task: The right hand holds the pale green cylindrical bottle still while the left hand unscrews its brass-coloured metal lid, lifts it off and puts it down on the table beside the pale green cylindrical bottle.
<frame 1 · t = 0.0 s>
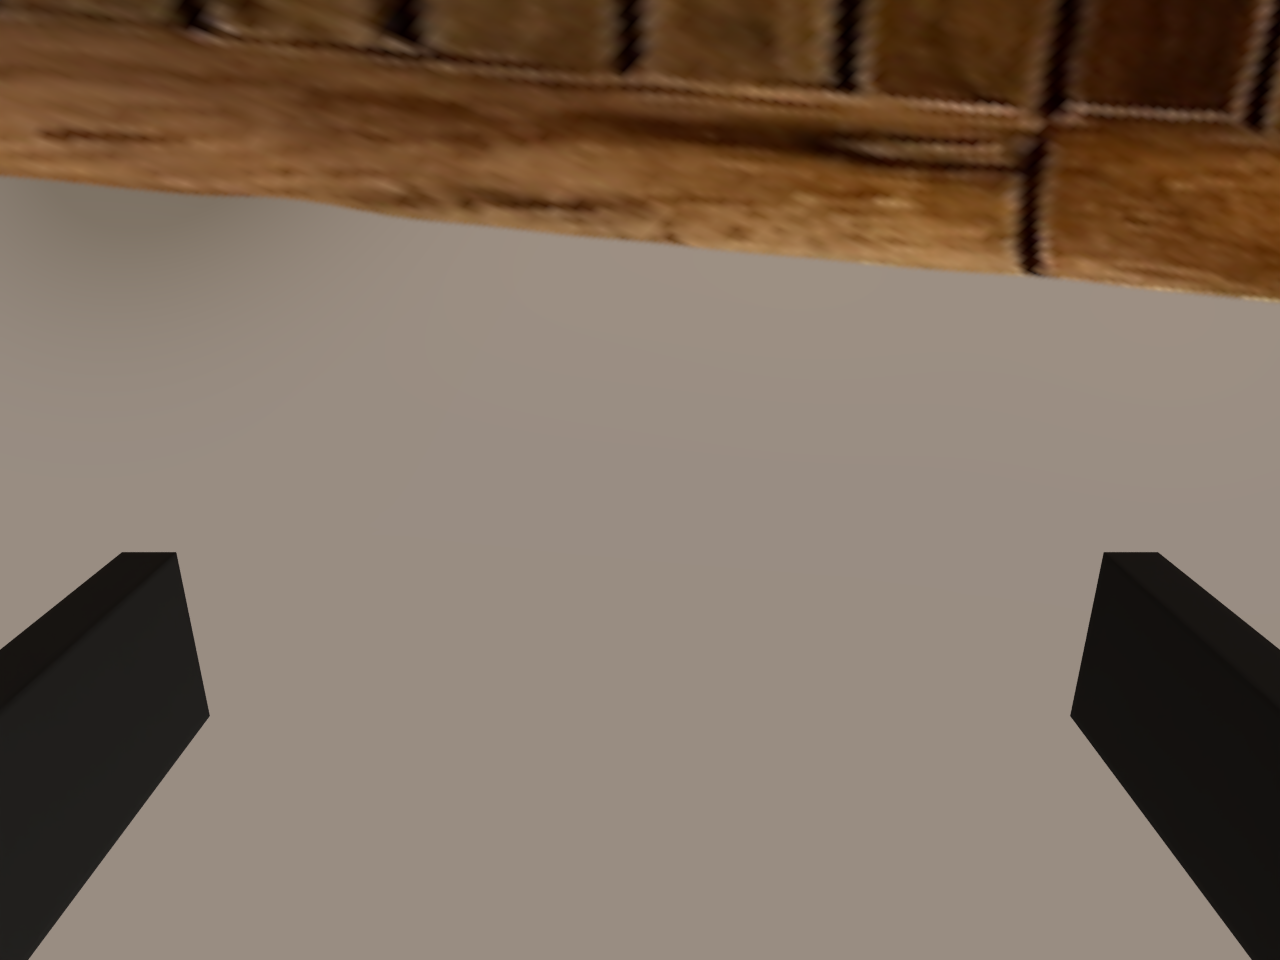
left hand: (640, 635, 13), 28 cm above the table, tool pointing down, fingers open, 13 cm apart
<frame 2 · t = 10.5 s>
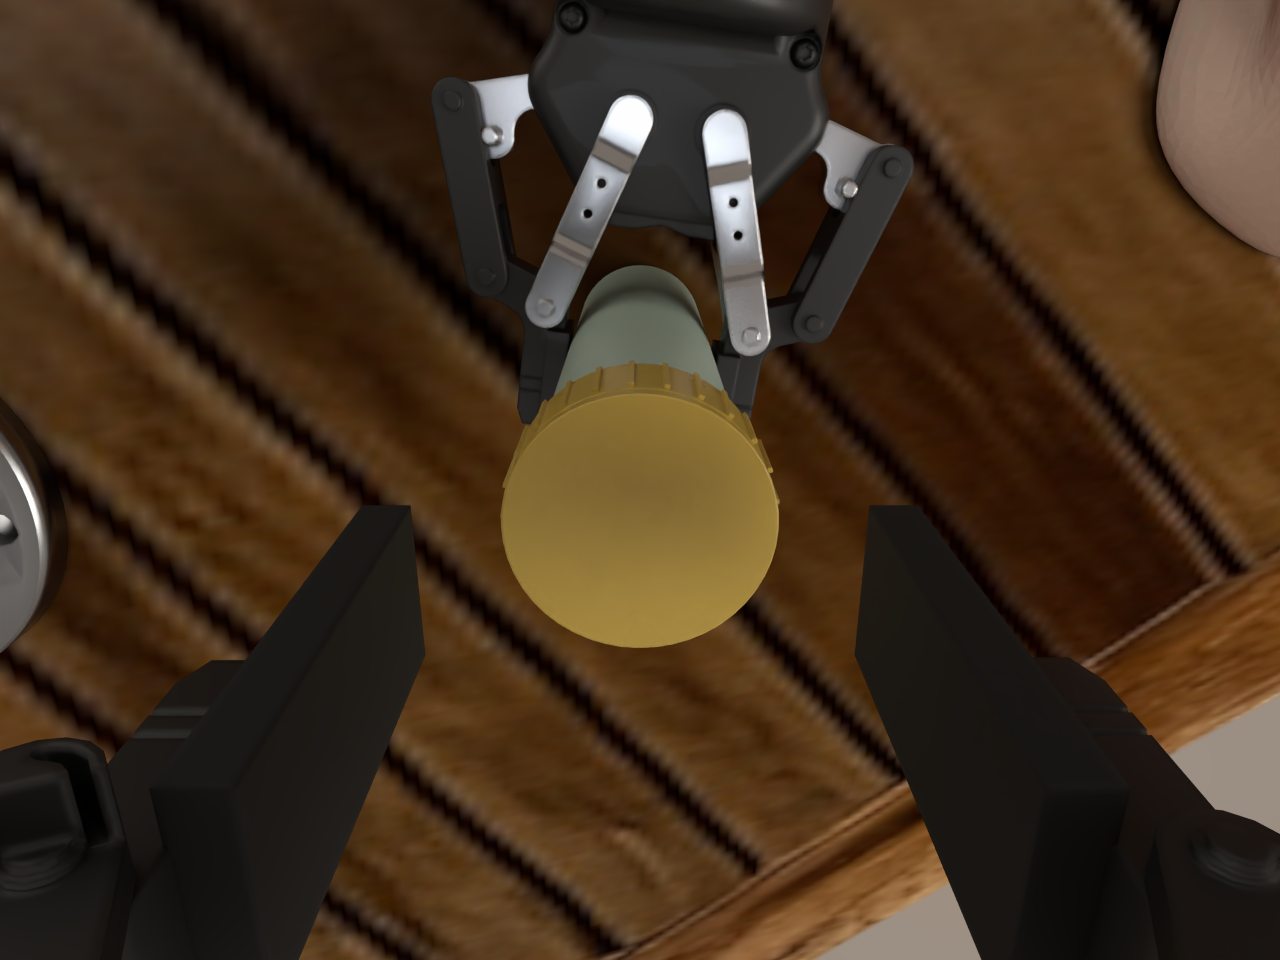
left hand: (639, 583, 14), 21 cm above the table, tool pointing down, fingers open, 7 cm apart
right hand: (629, 446, 29), fingers closed on pale green cylindrical bottle, 4 cm apart
pale green cylindrical bottle: (640, 325, 34), on the table, touching right hand
lid: (639, 520, 17), point 19 cm above the table, screwed on, not yet turned
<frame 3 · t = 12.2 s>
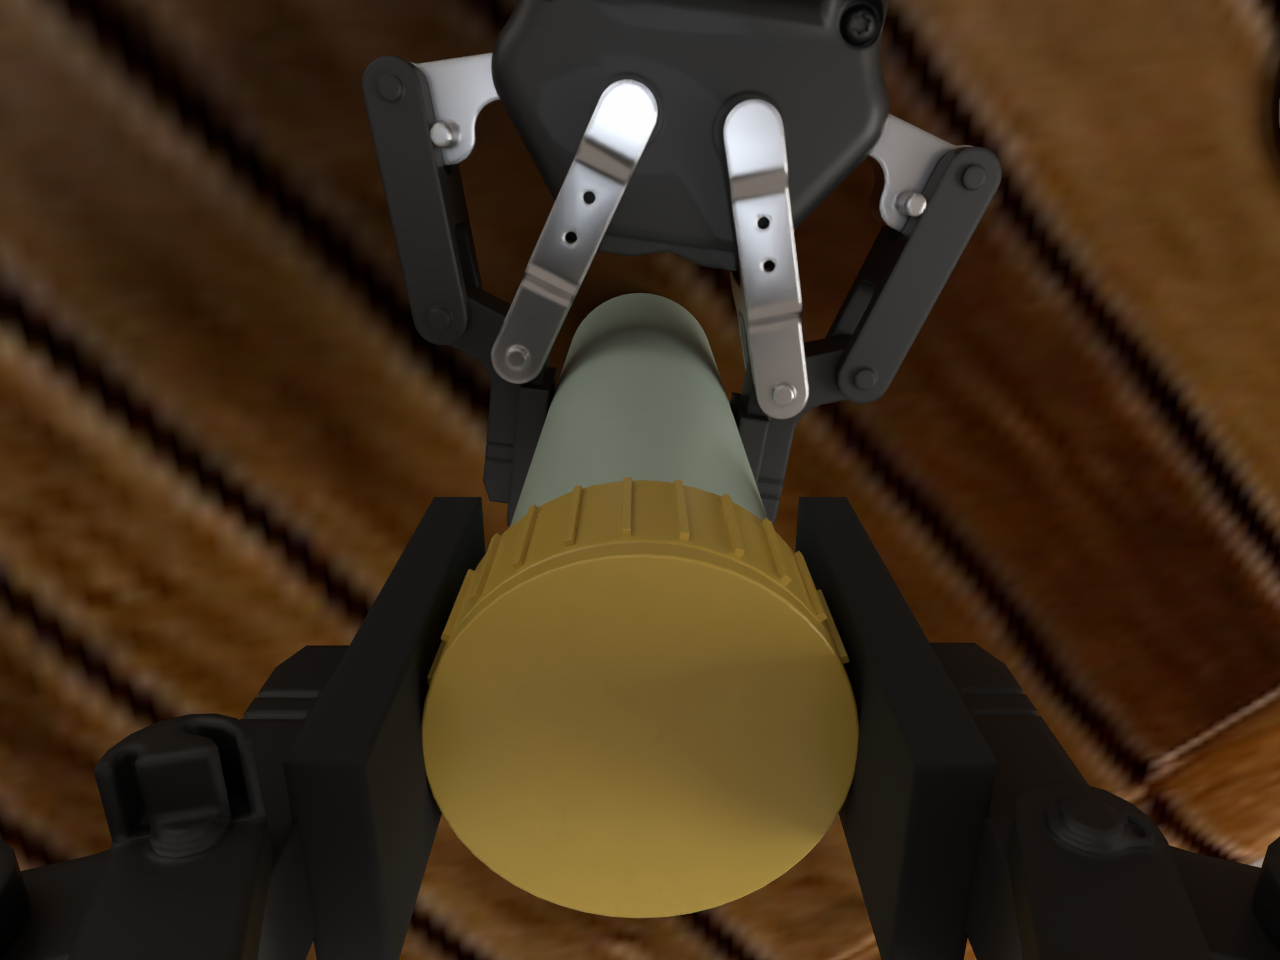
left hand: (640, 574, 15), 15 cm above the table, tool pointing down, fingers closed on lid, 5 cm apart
right hand: (626, 526, 23), fingers closed on pale green cylindrical bottle, 4 cm apart
pale green cylindrical bottle: (639, 364, 28), on the table, touching right hand
lid: (640, 734, 11), point 19 cm above the table, screwed on, not yet turned, touching left hand
when the left hand's fingers open (15 cm above the table, at t = 13.3 s): lid stays where it is, point 19 cm above the table.
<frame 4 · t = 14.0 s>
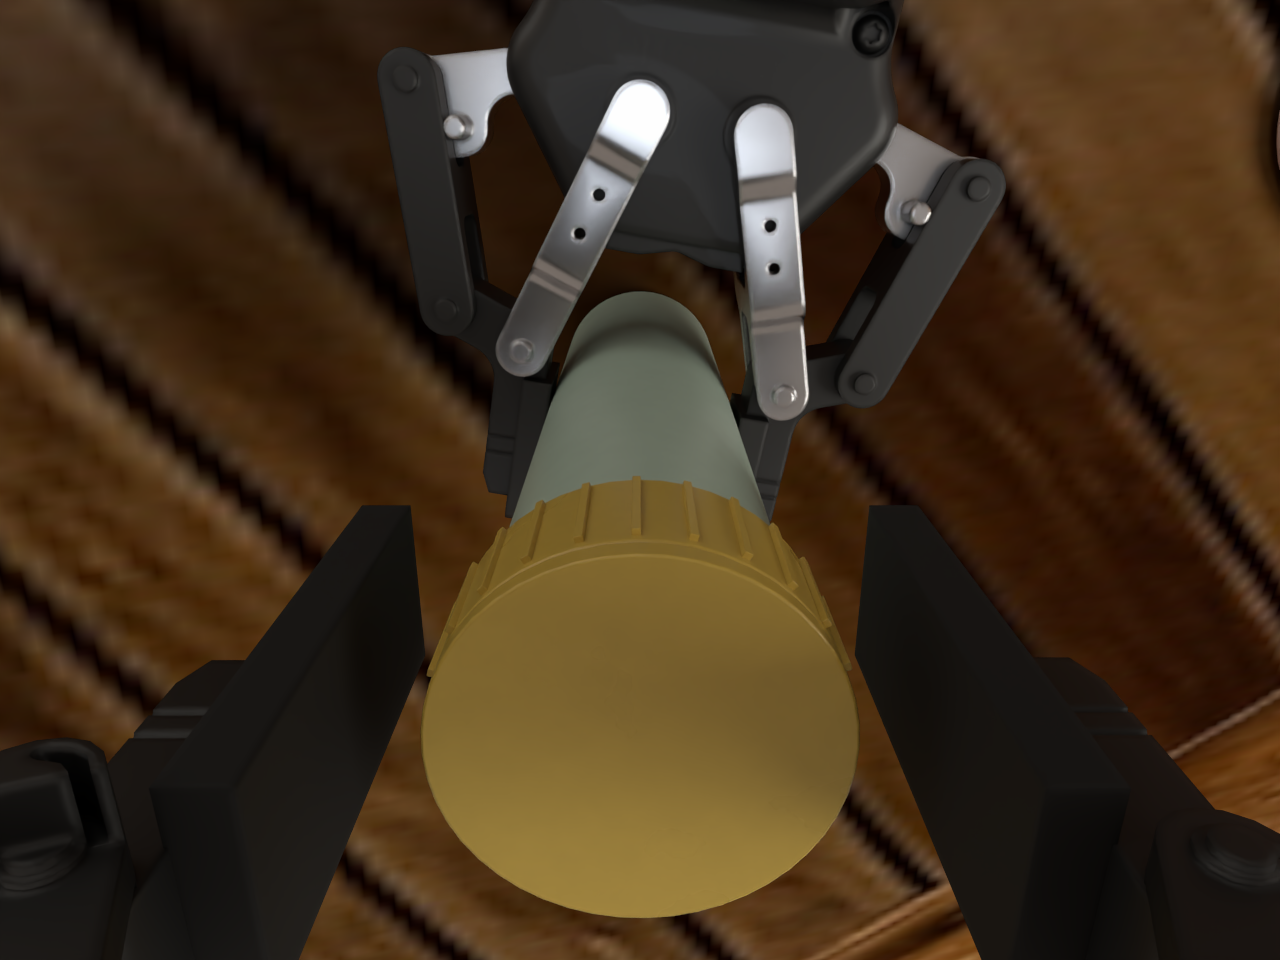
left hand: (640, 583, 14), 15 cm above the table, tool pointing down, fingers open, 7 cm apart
right hand: (623, 521, 23), fingers closed on pale green cylindrical bottle, 4 cm apart
pale green cylindrical bottle: (640, 362, 28), on the table, touching right hand
lid: (640, 734, 11), point 19 cm above the table, turned 72° so far, risen 0.2 cm, still on its thread
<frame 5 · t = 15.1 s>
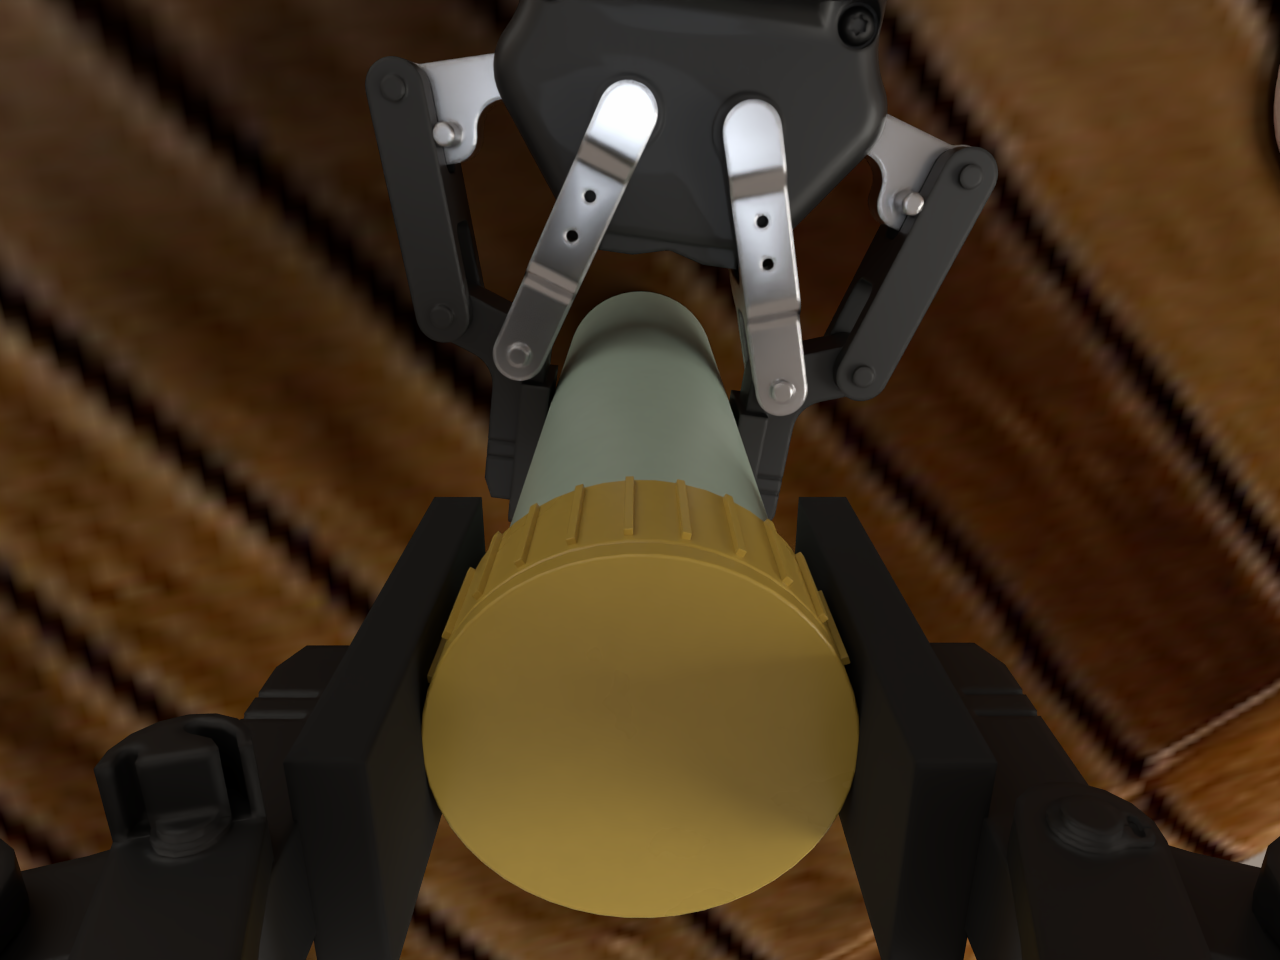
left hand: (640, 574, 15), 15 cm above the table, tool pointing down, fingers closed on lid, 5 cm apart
right hand: (626, 522, 23), fingers closed on pale green cylindrical bottle, 4 cm apart
pale green cylindrical bottle: (640, 362, 28), on the table, touching right hand
lid: (640, 734, 11), point 19 cm above the table, turned 72° so far, risen 0.2 cm, still on its thread, touching left hand
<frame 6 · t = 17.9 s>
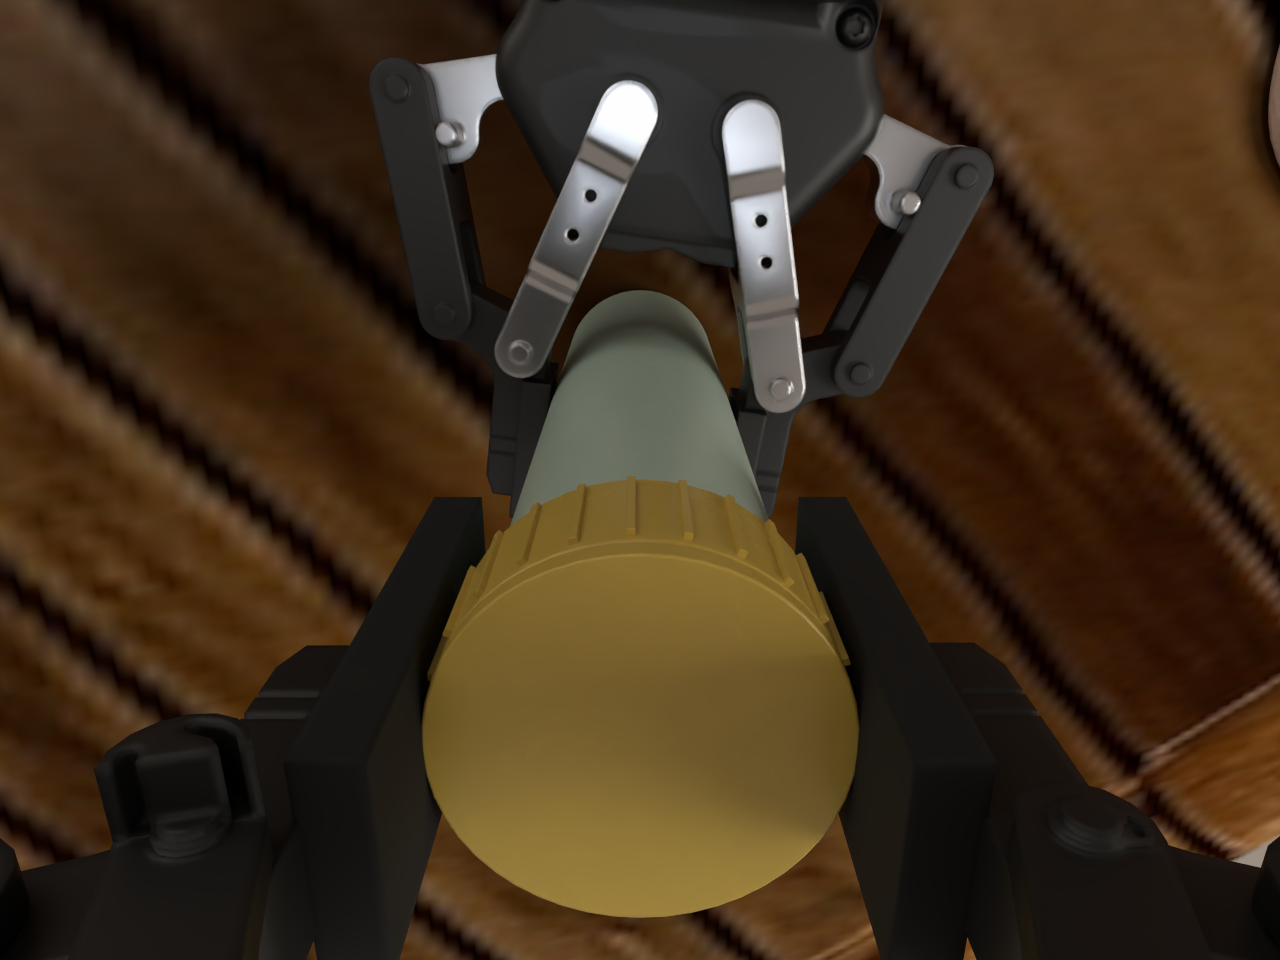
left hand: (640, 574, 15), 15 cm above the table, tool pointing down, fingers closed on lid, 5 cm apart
right hand: (627, 518, 23), fingers closed on pale green cylindrical bottle, 4 cm apart
pale green cylindrical bottle: (640, 361, 29), on the table, touching right hand
lid: (640, 733, 11), point 19 cm above the table, turned 143° so far, risen 0.5 cm, still on its thread, touching left hand
when the left hand's fingers open (0 cm above the table, at t = 24.7 s): lid drops 2 cm, point 2 cm above the table.
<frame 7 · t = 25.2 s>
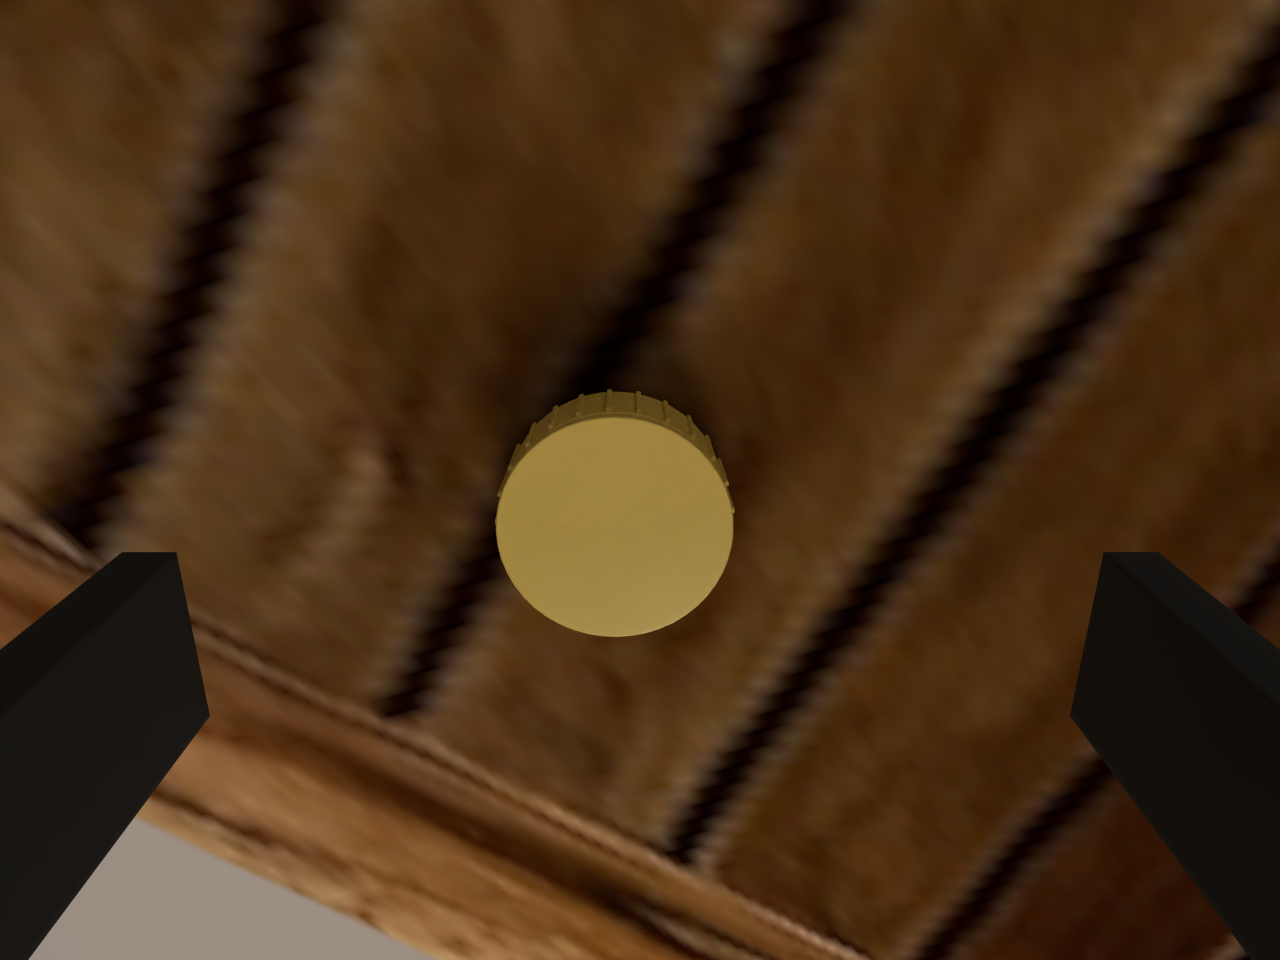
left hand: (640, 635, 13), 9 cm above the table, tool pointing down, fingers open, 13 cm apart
lid: (615, 525, 20), point 2 cm above the table, off its thread
when the right hand's fingers open (7 cm above the table, at t = 25.4 s): pale green cylindrical bottle stays where it is, on the table.
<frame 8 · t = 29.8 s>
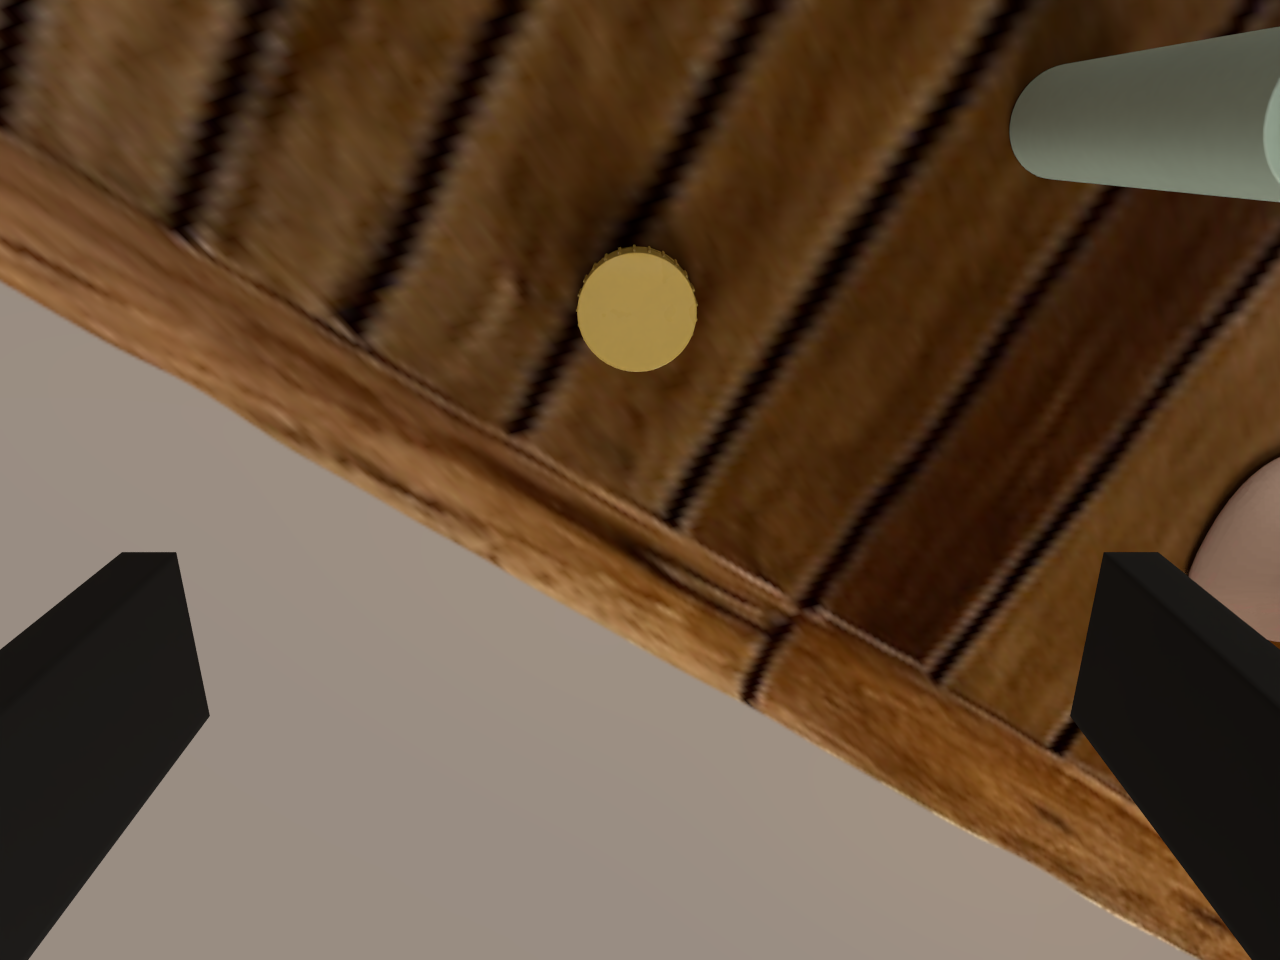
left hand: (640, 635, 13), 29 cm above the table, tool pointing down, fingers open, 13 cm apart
pale green cylindrical bottle: (1063, 122, 38), on the table
lid: (637, 312, 39), point 2 cm above the table, off its thread
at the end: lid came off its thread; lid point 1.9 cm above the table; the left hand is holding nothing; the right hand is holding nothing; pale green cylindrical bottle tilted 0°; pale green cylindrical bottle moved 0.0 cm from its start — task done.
